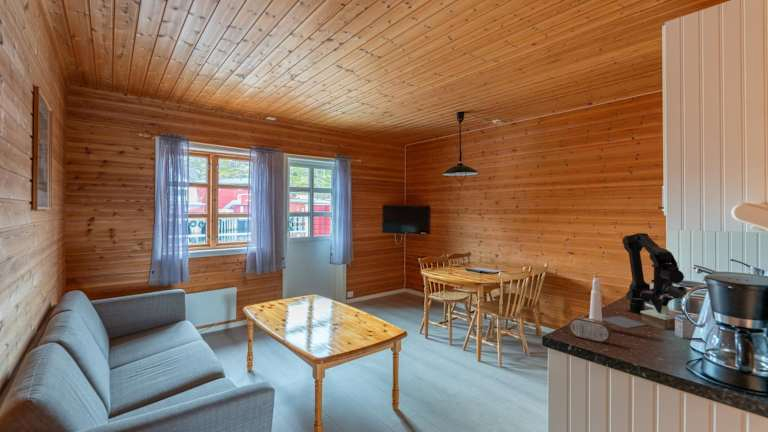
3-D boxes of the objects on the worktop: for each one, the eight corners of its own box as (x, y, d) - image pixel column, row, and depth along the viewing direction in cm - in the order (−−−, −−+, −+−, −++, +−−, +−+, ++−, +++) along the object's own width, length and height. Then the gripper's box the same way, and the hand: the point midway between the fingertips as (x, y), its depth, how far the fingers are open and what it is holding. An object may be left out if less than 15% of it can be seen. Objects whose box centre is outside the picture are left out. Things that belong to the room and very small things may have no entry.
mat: (619, 316, 170) (619, 316, 170) (647, 325, 157) (647, 324, 157) (599, 319, 166) (599, 318, 166) (626, 328, 153) (626, 327, 153)
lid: (656, 313, 165) (656, 301, 164) (682, 320, 154) (682, 307, 154) (640, 315, 161) (640, 303, 161) (665, 323, 151) (665, 310, 151)
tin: (612, 343, 137) (612, 322, 136) (610, 345, 134) (610, 324, 134) (570, 333, 147) (570, 314, 147) (568, 335, 145) (568, 316, 144)
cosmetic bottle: (589, 328, 153) (589, 279, 152) (586, 324, 159) (587, 276, 158) (605, 330, 151) (605, 280, 150) (601, 325, 157) (602, 277, 156)
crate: (656, 320, 164) (657, 310, 164) (680, 327, 155) (680, 317, 154) (641, 322, 161) (641, 312, 161) (665, 329, 151) (665, 319, 151)
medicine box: (694, 335, 145) (695, 314, 145) (703, 339, 140) (703, 318, 140) (674, 334, 146) (674, 314, 145) (682, 338, 141) (682, 317, 141)
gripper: (666, 283, 147) (665, 320, 147) (695, 280, 153) (695, 315, 153) (639, 278, 157) (639, 312, 158) (668, 276, 163) (667, 308, 163)
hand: (660, 312), depth 158 cm, fingers closed on lid
